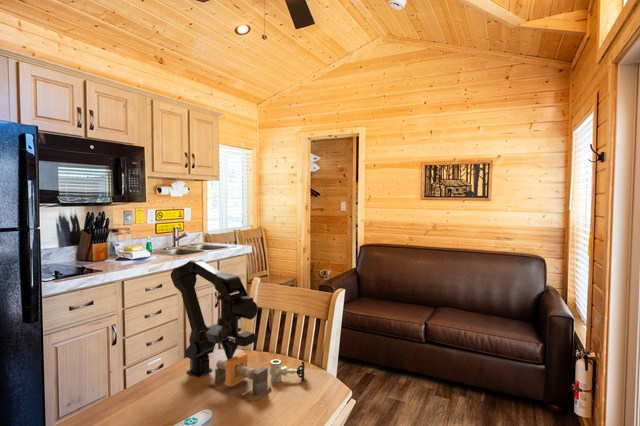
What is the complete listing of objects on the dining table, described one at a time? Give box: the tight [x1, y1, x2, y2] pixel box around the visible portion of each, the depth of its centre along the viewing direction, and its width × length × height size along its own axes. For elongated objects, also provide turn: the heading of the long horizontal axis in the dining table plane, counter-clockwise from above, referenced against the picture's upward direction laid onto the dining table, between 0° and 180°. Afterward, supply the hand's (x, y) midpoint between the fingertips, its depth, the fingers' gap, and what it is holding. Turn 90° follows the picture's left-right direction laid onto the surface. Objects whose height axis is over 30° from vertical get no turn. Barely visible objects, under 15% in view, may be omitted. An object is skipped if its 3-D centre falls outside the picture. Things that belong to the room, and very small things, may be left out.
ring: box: [226, 352, 248, 387], centre depth 126 cm, size 2×8×8 cm, turn 149°
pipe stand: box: [206, 358, 272, 403], centre depth 125 cm, size 20×9×8 cm, turn 59°
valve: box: [269, 359, 306, 383], centre depth 131 cm, size 7×7×12 cm
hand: (229, 359), depth 127 cm, fingers closed
